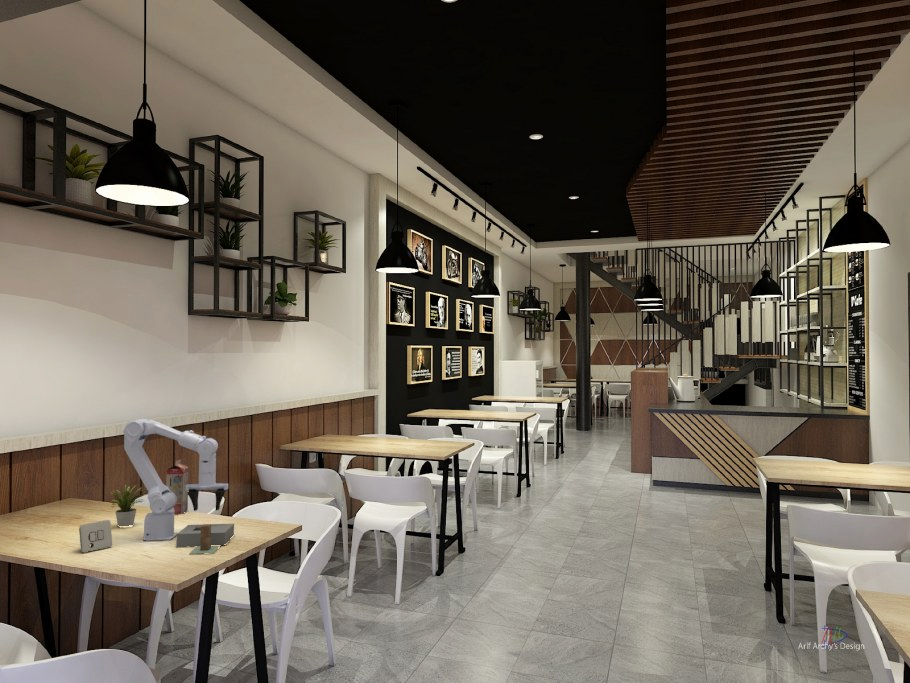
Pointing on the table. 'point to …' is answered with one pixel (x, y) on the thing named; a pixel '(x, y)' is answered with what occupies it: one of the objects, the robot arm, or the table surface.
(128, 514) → the house plant
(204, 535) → the wooden peg
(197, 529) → the panel
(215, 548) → the mat
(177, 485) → the juice carton
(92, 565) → the table surface
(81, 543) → the electrical switch
